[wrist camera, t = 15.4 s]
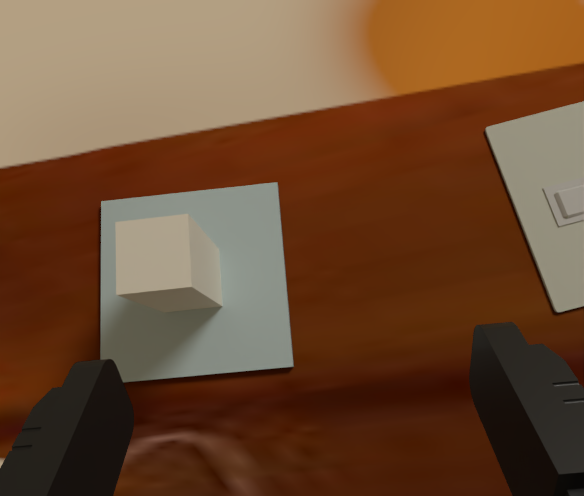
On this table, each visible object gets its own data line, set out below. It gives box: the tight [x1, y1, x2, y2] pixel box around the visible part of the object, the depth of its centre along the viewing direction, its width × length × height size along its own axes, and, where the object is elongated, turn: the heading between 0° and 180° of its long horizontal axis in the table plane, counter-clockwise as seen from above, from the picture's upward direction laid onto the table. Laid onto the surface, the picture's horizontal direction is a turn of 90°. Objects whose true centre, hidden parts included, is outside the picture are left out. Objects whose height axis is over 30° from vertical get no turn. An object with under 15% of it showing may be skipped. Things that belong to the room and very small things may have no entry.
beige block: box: [115, 214, 223, 313], centre depth 38 cm, size 5×5×10 cm
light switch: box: [485, 101, 584, 313], centre depth 43 cm, size 17×1×10 cm
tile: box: [100, 182, 294, 382], centre depth 43 cm, size 16×16×1 cm
